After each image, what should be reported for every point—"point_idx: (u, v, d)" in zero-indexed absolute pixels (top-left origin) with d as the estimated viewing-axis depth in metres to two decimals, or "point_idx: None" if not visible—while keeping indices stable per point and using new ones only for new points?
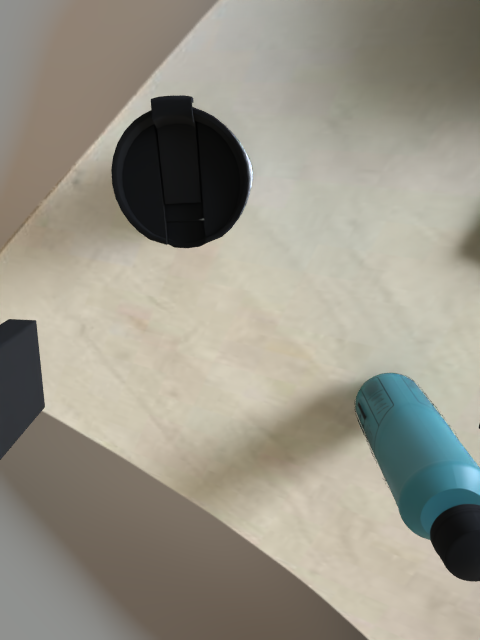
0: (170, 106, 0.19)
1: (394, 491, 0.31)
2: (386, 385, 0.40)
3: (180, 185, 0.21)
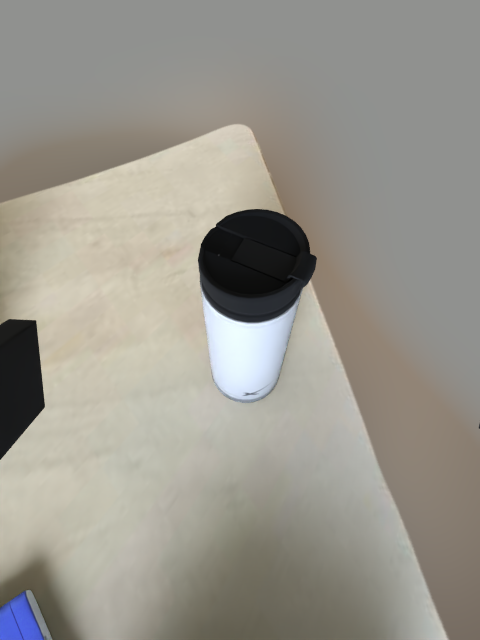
0: (305, 265, 0.24)
1: None
2: None
3: (250, 252, 0.25)
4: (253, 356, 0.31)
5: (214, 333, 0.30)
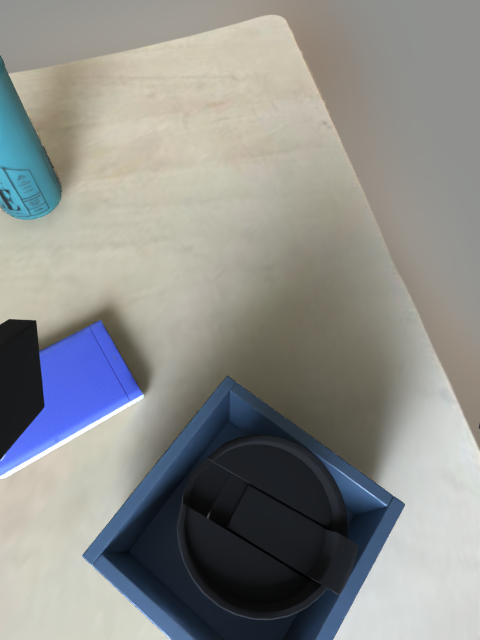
0: (341, 563, 0.15)
1: None
2: (52, 184, 0.44)
3: (257, 515, 0.17)
4: None
5: None
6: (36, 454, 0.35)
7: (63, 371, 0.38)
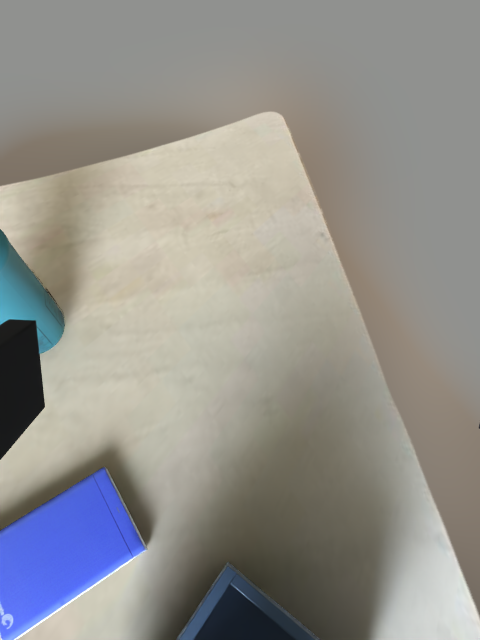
0: None
1: None
2: (55, 324, 0.45)
3: None
4: None
5: None
6: (43, 618, 0.37)
7: (68, 526, 0.39)
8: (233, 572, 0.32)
